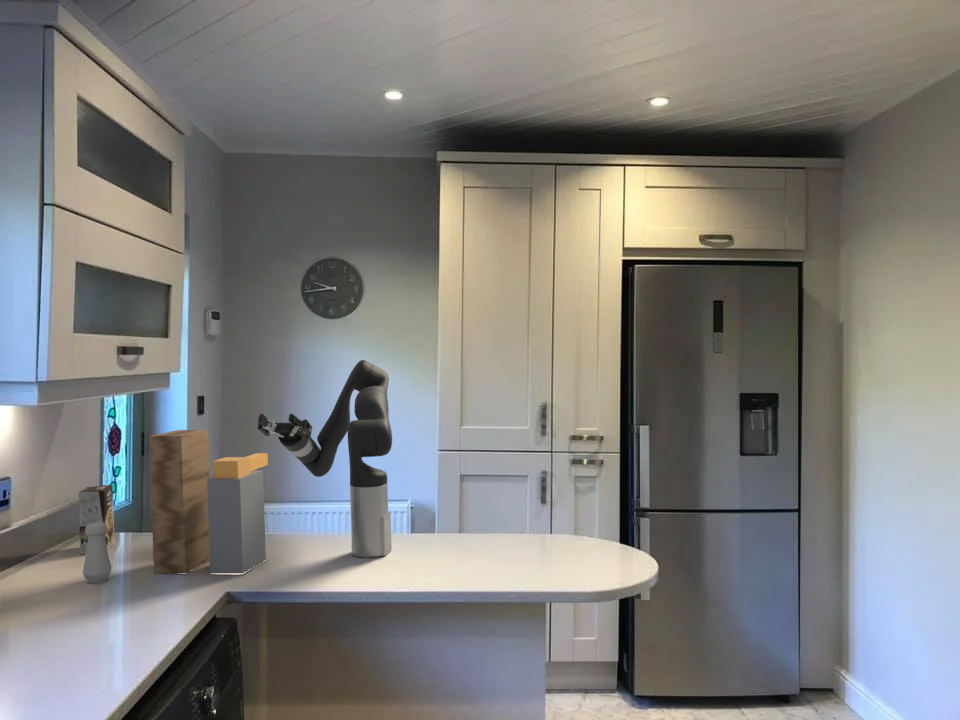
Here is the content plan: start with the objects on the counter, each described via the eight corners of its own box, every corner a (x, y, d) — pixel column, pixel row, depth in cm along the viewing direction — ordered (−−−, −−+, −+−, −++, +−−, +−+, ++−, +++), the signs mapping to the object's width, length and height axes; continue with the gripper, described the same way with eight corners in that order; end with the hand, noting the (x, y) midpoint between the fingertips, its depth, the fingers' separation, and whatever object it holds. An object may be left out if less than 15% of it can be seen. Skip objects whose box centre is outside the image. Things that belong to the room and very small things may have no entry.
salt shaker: (84, 579, 169) (82, 522, 169) (112, 575, 172) (110, 519, 172) (82, 586, 164) (80, 527, 164) (111, 582, 167) (109, 524, 166)
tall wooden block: (212, 559, 183) (208, 429, 182) (185, 574, 171) (181, 435, 171) (182, 558, 184) (177, 430, 184) (153, 573, 172) (149, 436, 172)
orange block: (273, 464, 189) (272, 449, 189) (238, 478, 170) (237, 461, 170) (251, 464, 190) (250, 449, 190) (213, 478, 171) (213, 461, 171)
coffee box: (106, 552, 192) (104, 490, 191) (79, 554, 190) (77, 492, 190) (115, 543, 201) (113, 484, 200) (89, 545, 199) (87, 485, 199)
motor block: (265, 560, 181) (263, 470, 181) (242, 575, 169) (239, 479, 169) (235, 559, 182) (232, 470, 182) (210, 574, 170) (207, 479, 170)
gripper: (275, 428, 219) (253, 404, 205) (322, 427, 217) (302, 404, 203) (271, 452, 216) (248, 429, 202) (318, 451, 214) (297, 429, 199)
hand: (275, 417), depth 202 cm, fingers open, 8 cm apart
